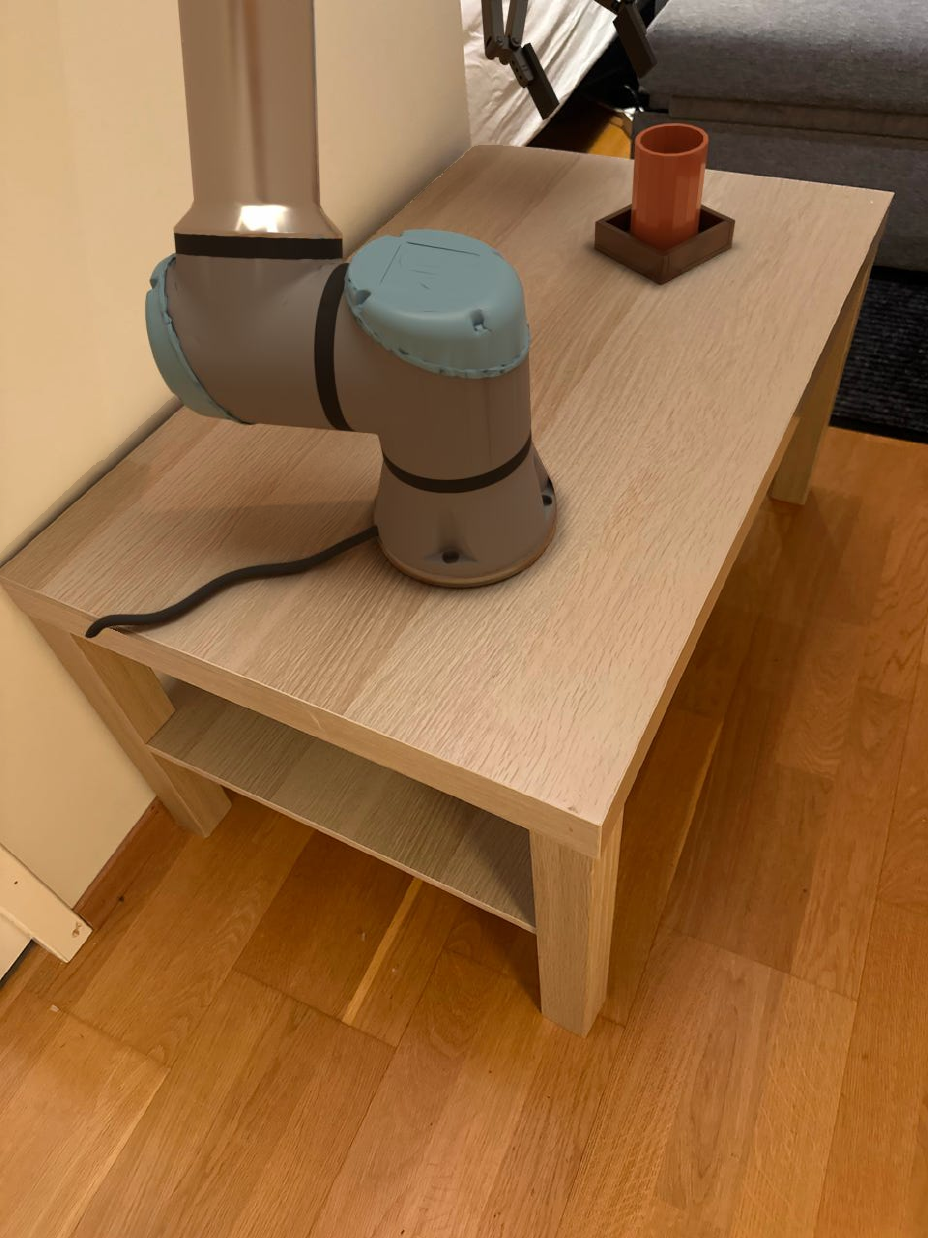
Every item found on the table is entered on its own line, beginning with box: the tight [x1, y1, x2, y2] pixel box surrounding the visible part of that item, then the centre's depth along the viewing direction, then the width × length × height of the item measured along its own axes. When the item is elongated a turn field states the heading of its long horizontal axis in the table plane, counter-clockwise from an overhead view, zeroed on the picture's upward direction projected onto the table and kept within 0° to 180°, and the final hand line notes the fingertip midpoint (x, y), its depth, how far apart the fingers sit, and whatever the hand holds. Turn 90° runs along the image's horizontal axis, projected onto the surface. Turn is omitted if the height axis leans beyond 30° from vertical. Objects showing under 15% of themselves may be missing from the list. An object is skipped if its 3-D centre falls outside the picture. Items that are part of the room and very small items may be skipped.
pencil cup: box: [630, 122, 709, 252], centre depth 95 cm, size 7×7×11 cm
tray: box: [593, 203, 736, 285], centre depth 98 cm, size 11×11×3 cm
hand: (601, 91), depth 95 cm, fingers open, 13 cm apart
